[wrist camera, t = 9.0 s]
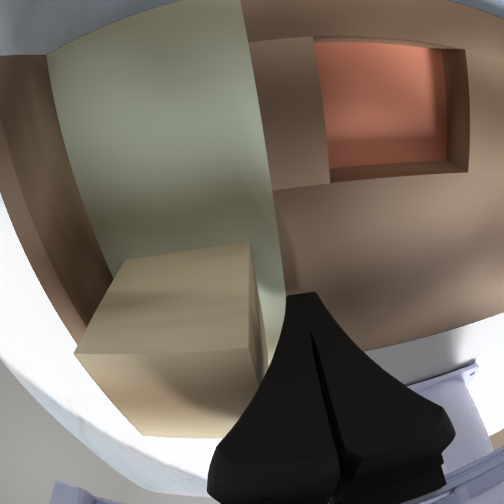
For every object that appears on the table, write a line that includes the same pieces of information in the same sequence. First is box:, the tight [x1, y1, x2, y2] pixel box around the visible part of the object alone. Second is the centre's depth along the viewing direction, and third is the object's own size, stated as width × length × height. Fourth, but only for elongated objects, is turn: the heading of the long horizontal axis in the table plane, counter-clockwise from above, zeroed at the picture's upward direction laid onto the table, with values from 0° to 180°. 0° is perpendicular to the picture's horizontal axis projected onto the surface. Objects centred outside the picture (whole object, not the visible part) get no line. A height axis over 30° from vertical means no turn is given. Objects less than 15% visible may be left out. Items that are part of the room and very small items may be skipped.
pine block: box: [74, 242, 269, 438], centre depth 10 cm, size 5×5×5 cm
